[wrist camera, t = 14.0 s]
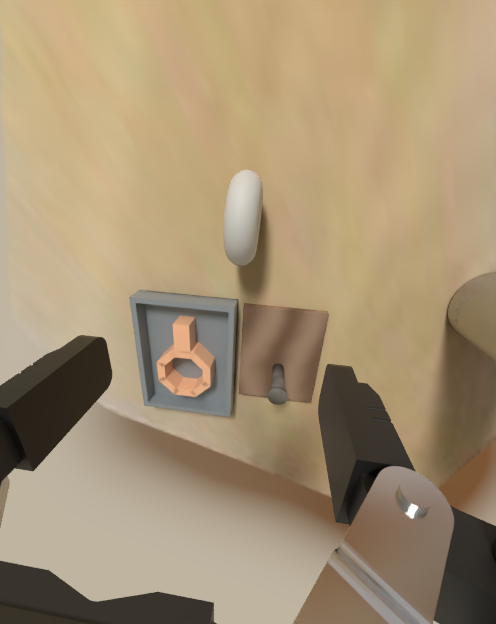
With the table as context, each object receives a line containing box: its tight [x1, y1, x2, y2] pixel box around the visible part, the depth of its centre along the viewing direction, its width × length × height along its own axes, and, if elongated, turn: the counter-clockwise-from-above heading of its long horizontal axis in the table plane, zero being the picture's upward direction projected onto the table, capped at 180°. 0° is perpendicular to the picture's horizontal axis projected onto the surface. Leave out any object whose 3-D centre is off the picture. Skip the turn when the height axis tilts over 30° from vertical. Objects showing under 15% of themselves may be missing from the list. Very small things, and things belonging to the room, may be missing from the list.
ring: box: [157, 315, 215, 397], centre depth 42 cm, size 8×13×3 cm, turn 177°
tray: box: [129, 290, 238, 417], centre depth 42 cm, size 15×20×3 cm
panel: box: [239, 303, 329, 405], centre depth 38 cm, size 12×16×8 cm
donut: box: [224, 170, 263, 266], centre depth 29 cm, size 10×4×10 cm, turn 175°
